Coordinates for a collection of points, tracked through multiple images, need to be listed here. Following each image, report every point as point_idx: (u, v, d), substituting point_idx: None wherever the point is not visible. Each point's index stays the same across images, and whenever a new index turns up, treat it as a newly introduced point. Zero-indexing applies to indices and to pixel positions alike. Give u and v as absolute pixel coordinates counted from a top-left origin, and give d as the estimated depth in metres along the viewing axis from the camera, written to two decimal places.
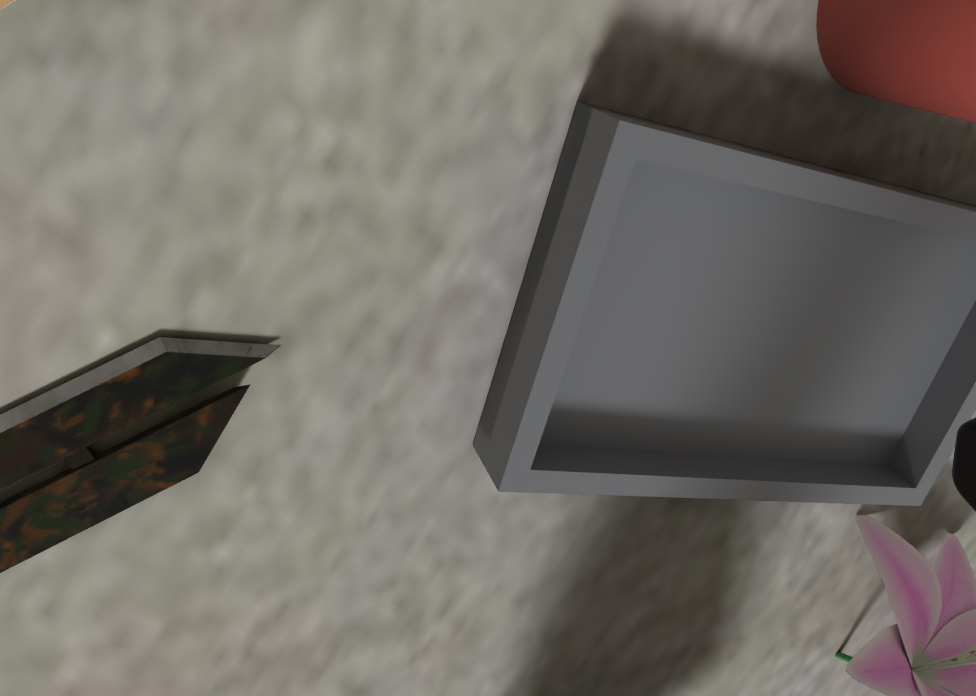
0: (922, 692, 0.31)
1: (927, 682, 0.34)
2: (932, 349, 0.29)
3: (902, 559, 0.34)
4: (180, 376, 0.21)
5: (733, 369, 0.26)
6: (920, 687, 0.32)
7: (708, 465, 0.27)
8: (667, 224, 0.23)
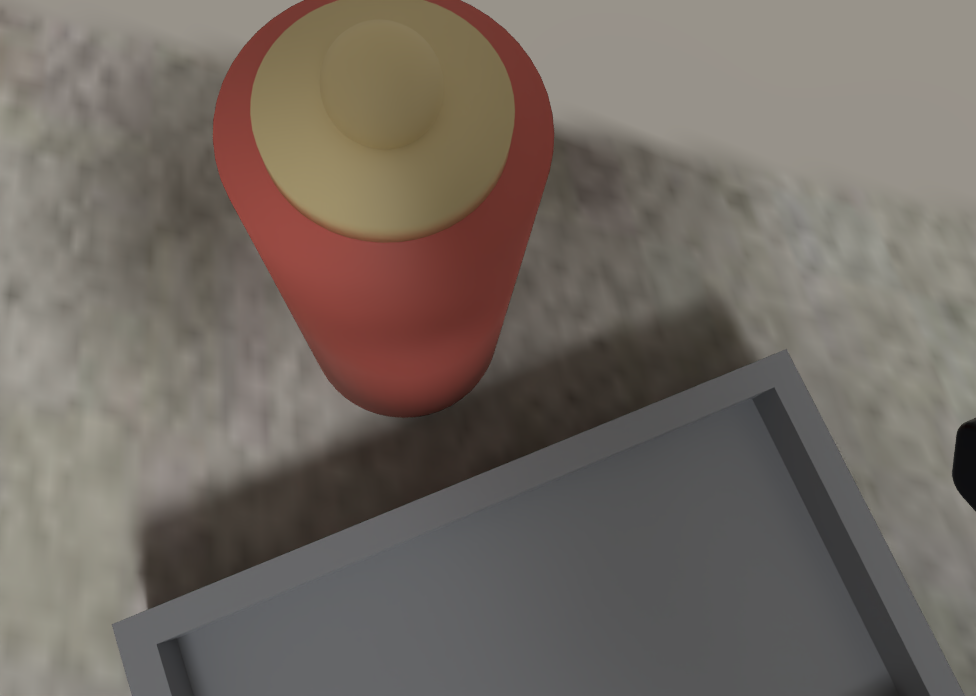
0: None
1: None
2: (798, 558, 0.21)
3: None
4: None
5: None
6: None
7: None
8: (303, 665, 0.20)
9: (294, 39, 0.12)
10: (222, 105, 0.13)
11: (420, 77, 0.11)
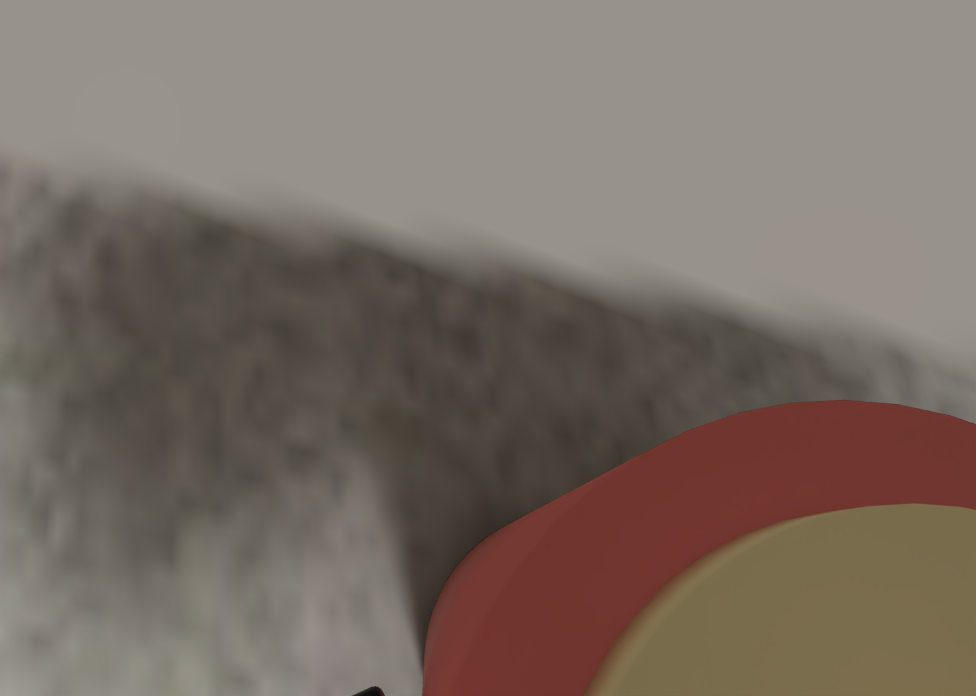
0: None
1: None
2: None
3: None
4: None
5: None
6: None
7: None
8: None
9: (671, 684, 0.04)
10: None
11: None
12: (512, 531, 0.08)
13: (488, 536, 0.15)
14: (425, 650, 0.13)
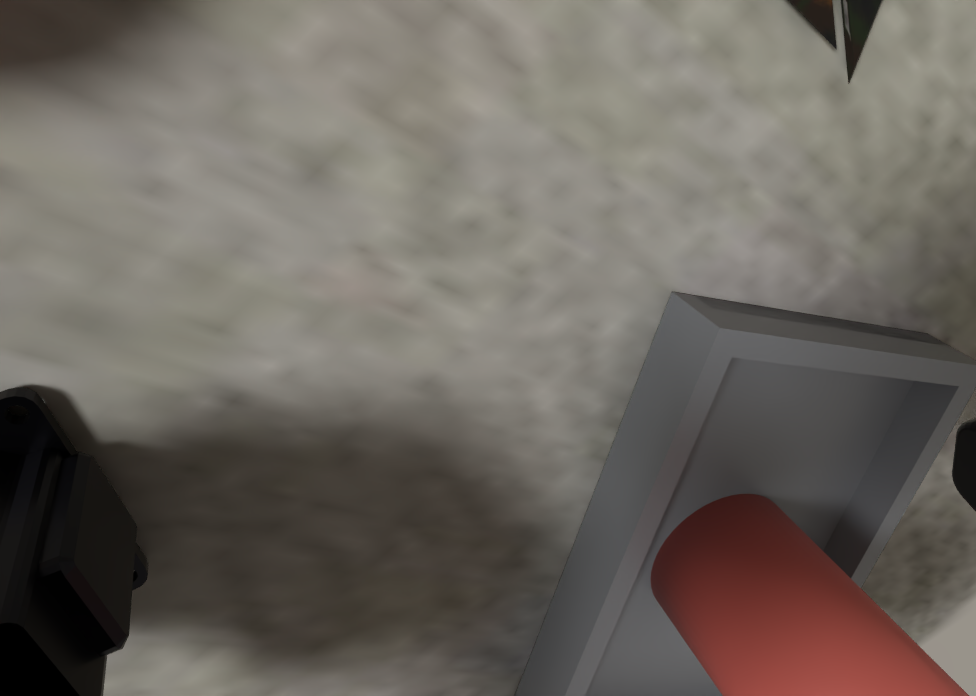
0: None
1: None
2: None
3: None
4: None
5: None
6: None
7: None
8: (850, 427, 0.27)
9: None
10: None
11: None
12: None
13: None
14: None
